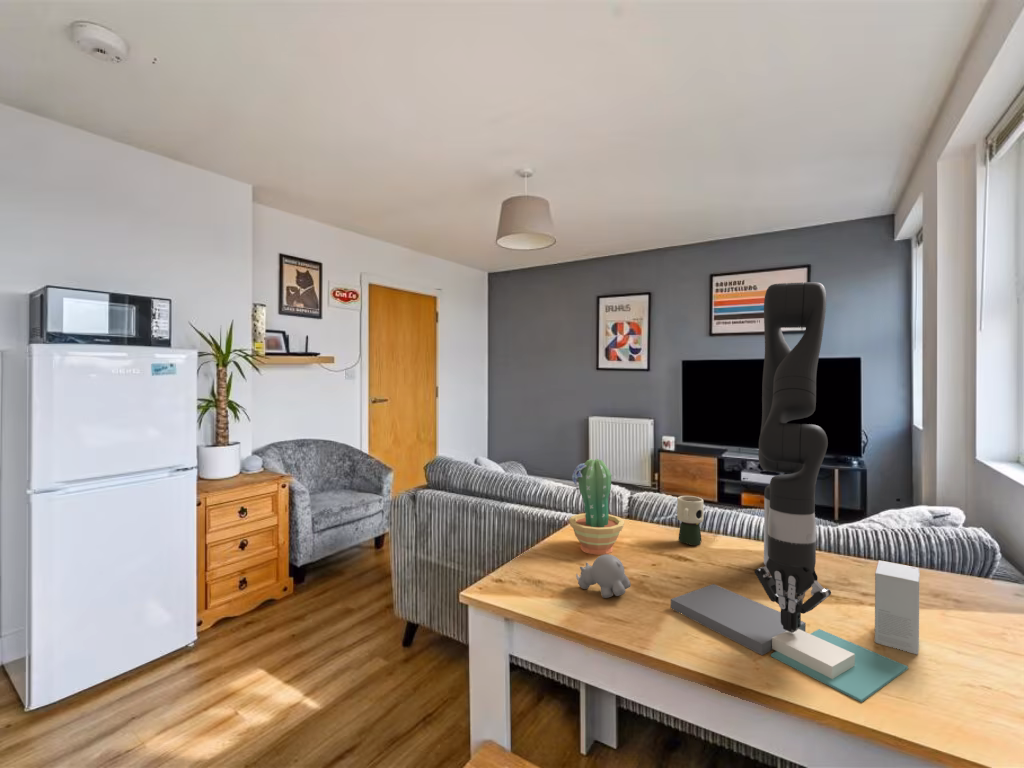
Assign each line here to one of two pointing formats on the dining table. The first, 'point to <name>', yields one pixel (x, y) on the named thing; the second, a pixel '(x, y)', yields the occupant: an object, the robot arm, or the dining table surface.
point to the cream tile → (814, 652)
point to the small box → (897, 606)
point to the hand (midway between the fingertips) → (790, 629)
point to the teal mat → (853, 669)
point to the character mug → (690, 519)
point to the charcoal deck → (732, 616)
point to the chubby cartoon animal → (605, 576)
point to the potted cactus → (595, 509)
